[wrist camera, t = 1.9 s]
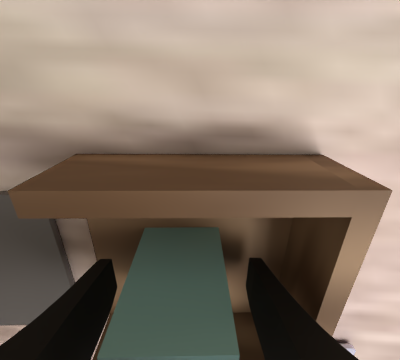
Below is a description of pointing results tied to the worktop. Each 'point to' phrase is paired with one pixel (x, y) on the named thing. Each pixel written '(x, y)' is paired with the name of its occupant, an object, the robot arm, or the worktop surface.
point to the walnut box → (224, 218)
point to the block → (174, 300)
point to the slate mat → (29, 265)
